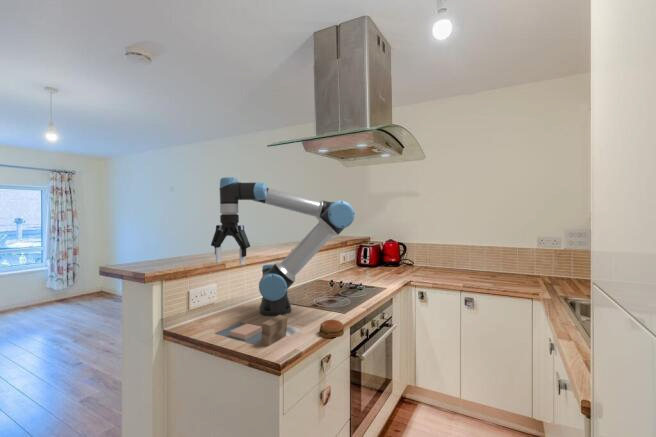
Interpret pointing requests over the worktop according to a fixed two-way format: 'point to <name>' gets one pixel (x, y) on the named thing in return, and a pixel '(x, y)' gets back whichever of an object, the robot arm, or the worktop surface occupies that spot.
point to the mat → (226, 333)
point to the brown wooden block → (276, 330)
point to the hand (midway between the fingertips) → (230, 263)
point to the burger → (331, 329)
